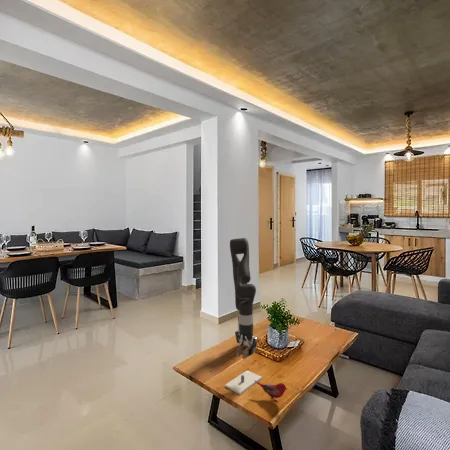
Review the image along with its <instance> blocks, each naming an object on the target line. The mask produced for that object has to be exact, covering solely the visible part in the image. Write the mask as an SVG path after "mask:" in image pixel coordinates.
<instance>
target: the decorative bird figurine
mask: <svg viewBox="0 0 450 450" xmlns="http://www.w3.org/2000/svg"><path fill="white" fill-rule="evenodd" d="M254 381H255V380H254ZM255 382H256V383H255V384H257V385H258V386H260V387H261V388H262V390H263V391H264V392H265V394H267V395H268V396H269V398H270V400H273V401H274V402H280V401H279V400H277V399H278V398H279V399H280V398H281V397H283V395H284V393H285V392H286V391H288V388H287V386H286V384H285V383H283V382H279V383H277V384H272V383H271V384H268V383H267V384H266V383H265V384H262V383H260V381H258V382H257V381H255Z"/></svg>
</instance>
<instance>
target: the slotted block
mask: <svg viewBox="0 0 450 450" xmlns="http://www.w3.org/2000/svg"><path fill="white" fill-rule="evenodd" d="M250 345H251V344H250ZM256 352H257V346H256V347H255V348H254V349H253V354H255V353H256ZM241 355H242V359H243V360H245V359H247V358H249V357H250V355H249V346H248V344H247V343H246V344H244V345H242V346H240V347H239V346H238V347H237V348H236V357H240V356H241Z"/></svg>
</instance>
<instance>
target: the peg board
mask: <svg viewBox="0 0 450 450" xmlns="http://www.w3.org/2000/svg"><path fill="white" fill-rule="evenodd" d="M262 379H263V376H261V375H258V374H256V373H254V372H252V371H249V370H248V369H247V370H246V371H244V372H242V373H241V374H239V375H238V376H236V377H234V378H233V379H232V380H230V381H228V382H227V383H226V384H225V385H224V386H225V387H226V388H227V389H229V390H231V391H233V392H235V393H236V394H239V395H241V394H243V393H244V392H246V391H247V390H249V388H251V387H252V386H254V385H256V384H257V383H256V382H255V381H257V382H260V381H261V380H262ZM254 380H255V381H254Z"/></svg>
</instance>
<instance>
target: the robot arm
mask: <svg viewBox="0 0 450 450" xmlns="http://www.w3.org/2000/svg"><path fill="white" fill-rule="evenodd" d="M229 251H230V257H231V263H232V264H231V265H232V275H233V276H232V278H233V284H234V295H235V297H234V298H235V301H234V302H235V308H236V310H237V311H238V312H239V313H238V317H237V326H238V327H237V328H238V329H237V330H236V331H234V334H235V339H236V343H237V345H238V347H240V346H242V345H244V344H246V343H247V344H248V346H249V355H250V356H253V354H254V353H253V349H254V348H255V347H256V348H257V344H258V340H259V337H258V336H254V314H253V312H254V311H253V307H254V300H255V296H256V293H257V288H256V286H255V285H254V284H253V283H250V281H251V279H252V277H251V272H250V247H249V241H248V238H245V237H243V238H241V237H240V238H233V239H230V241H229ZM238 255H242V258H241V259H239V257H238ZM250 344H251V345H250ZM250 356H249V357H250Z"/></svg>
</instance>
